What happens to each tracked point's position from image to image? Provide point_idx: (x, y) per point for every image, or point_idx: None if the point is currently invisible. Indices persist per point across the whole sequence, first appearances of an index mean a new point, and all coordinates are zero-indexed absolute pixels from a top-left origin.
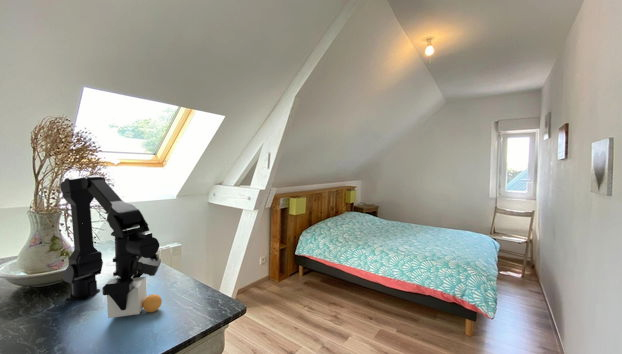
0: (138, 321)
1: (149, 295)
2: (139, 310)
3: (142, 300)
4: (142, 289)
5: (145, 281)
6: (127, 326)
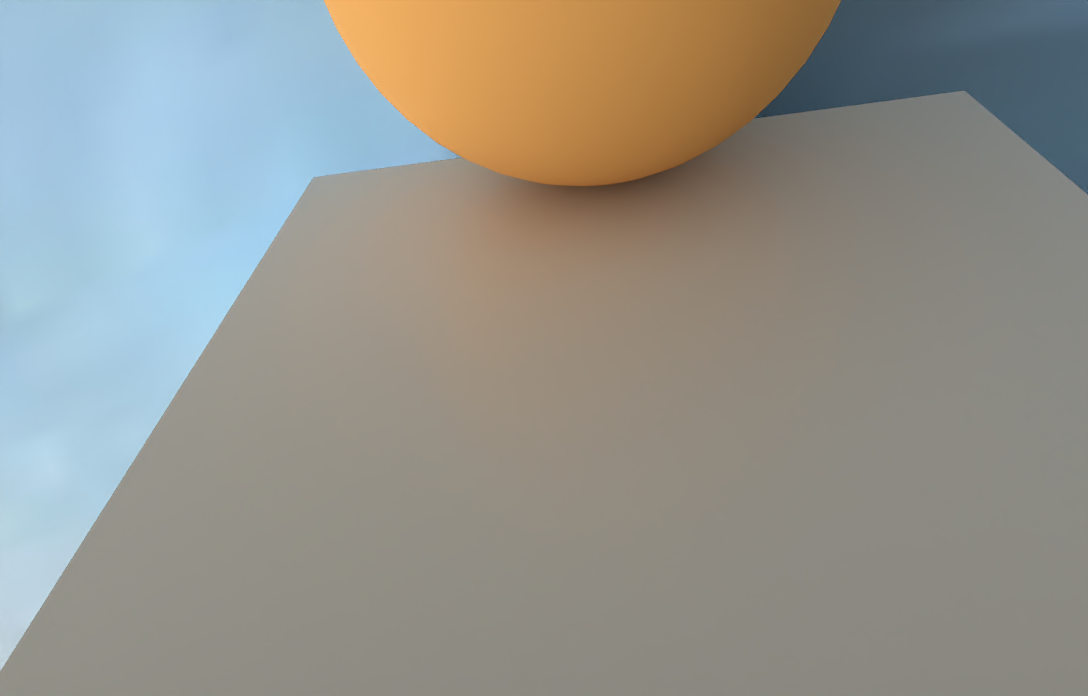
0: (965, 35)
1: (509, 99)
2: (956, 121)
3: (663, 221)
4: (648, 478)
5: (90, 656)
6: (1070, 174)
